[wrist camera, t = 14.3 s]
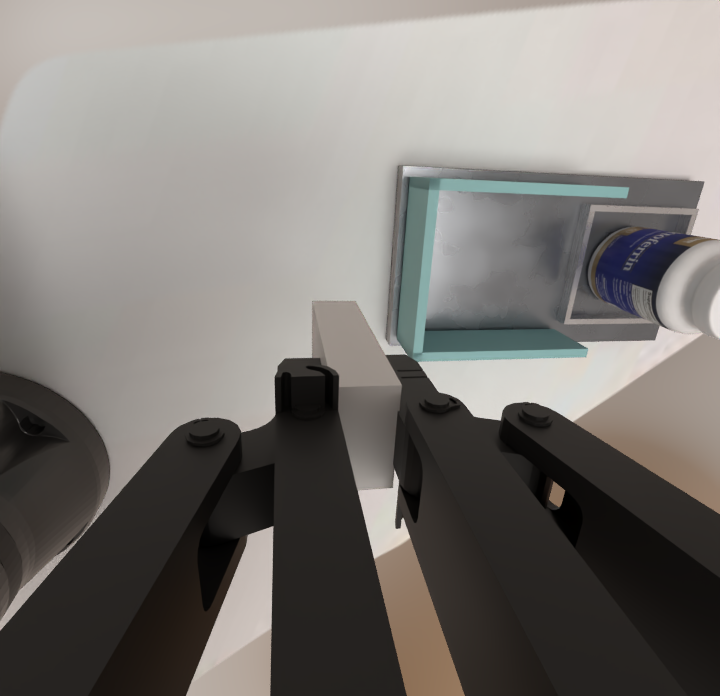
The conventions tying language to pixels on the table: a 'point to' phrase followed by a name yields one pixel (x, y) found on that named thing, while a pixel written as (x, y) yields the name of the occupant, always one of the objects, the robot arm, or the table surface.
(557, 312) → the plate
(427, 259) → the housing
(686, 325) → the pill bottle
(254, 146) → the table surface
